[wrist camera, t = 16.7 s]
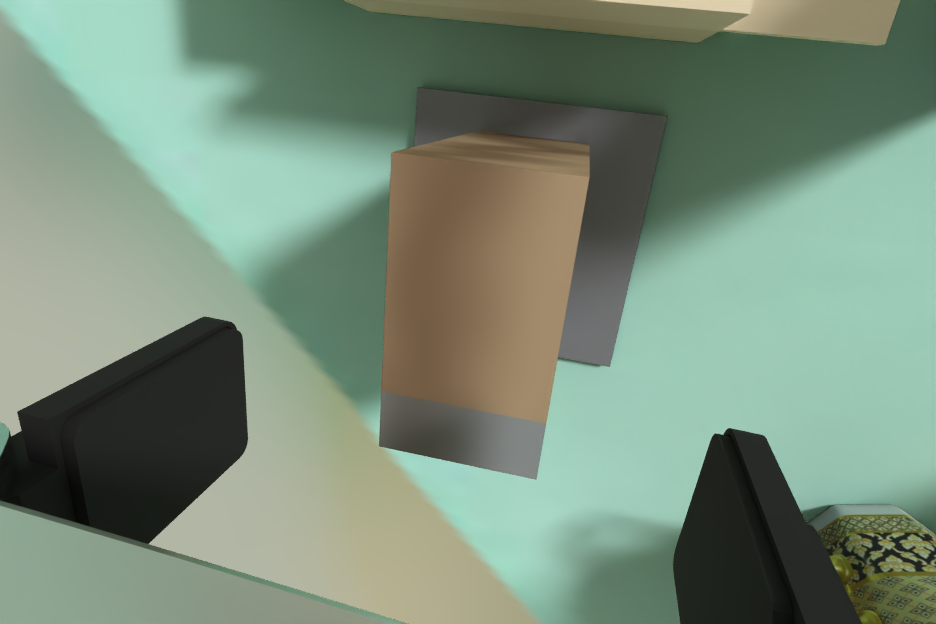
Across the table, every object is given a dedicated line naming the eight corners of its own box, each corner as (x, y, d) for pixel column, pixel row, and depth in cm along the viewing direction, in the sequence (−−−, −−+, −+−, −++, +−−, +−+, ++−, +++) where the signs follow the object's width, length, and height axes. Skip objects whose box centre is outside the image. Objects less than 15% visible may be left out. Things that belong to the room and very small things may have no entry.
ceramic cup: (1023, 553, 27) (1243, 782, 18) (854, 650, 31) (965, 877, 22) (820, 401, 27) (941, 558, 17) (675, 519, 31) (712, 697, 21)
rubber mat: (665, 116, 24) (667, 116, 23) (609, 362, 28) (609, 366, 28) (420, 87, 25) (417, 87, 25) (404, 324, 30) (401, 328, 29)
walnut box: (589, 143, 24) (589, 177, 13) (557, 329, 27) (536, 479, 17) (478, 131, 25) (391, 152, 14) (460, 312, 28) (379, 446, 17)
